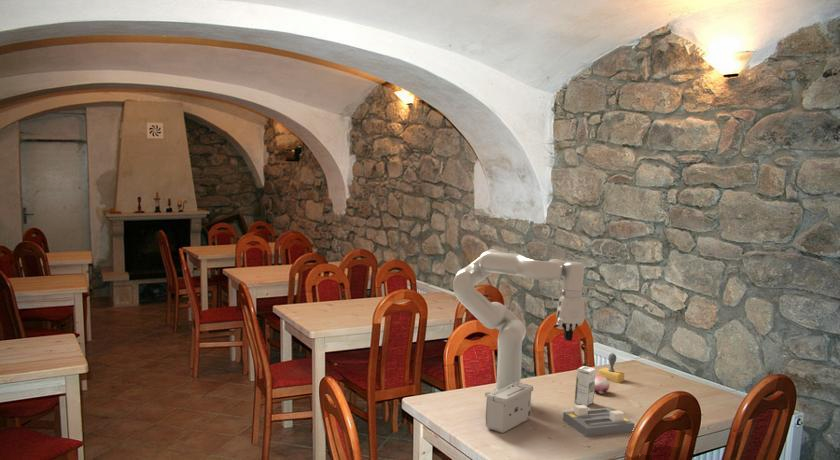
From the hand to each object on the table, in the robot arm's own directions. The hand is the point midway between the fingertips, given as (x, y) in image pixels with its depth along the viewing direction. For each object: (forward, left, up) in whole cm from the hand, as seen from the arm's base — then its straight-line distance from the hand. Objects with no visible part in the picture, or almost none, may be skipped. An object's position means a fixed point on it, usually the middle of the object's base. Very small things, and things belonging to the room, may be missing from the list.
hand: (567, 339), depth 256 cm
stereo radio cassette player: (-28, -9, -28) cm, 41 cm away
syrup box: (+12, +4, -28) cm, 31 cm away
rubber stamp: (+42, +29, -28) cm, 59 cm away
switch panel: (+4, -18, -28) cm, 33 cm away
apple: (+26, +14, -28) cm, 41 cm away
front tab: (+9, -22, -25) cm, 34 cm away
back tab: (-1, -14, -25) cm, 28 cm away
